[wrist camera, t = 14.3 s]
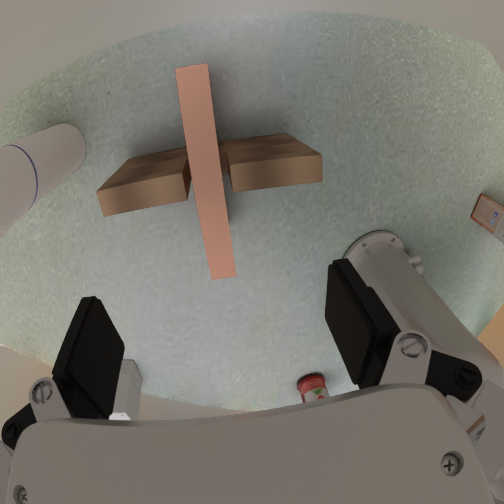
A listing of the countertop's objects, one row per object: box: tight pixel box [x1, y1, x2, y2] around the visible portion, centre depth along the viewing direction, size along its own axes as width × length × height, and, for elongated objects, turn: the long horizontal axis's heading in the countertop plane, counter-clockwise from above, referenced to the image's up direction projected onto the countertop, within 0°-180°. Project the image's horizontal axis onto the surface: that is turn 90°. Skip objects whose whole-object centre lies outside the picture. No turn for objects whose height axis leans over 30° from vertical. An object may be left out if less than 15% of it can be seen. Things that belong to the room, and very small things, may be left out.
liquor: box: [297, 375, 330, 403], centre depth 51 cm, size 7×7×28 cm
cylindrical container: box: [0, 123, 86, 236], centre depth 20 cm, size 7×7×25 cm
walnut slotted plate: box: [96, 134, 322, 217], centre depth 29 cm, size 20×2×12 cm, turn 96°
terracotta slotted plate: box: [175, 63, 237, 280], centre depth 29 cm, size 20×2×12 cm, turn 5°
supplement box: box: [109, 360, 142, 420], centre depth 48 cm, size 7×7×13 cm
